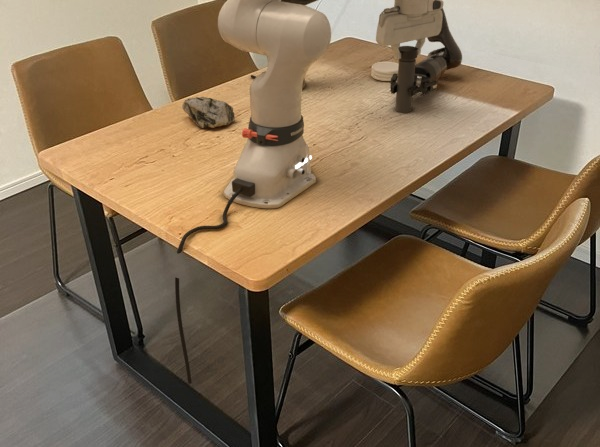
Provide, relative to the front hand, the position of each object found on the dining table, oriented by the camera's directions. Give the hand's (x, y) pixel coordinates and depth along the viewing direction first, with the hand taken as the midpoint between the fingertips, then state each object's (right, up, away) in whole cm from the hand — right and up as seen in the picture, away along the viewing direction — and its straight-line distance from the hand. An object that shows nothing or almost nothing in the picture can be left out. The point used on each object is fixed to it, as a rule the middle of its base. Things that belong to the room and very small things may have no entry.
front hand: (407, 56), depth 168 cm
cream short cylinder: (-1, +2, +32) cm, 32 cm away
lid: (0, +2, -1) cm, 2 cm away
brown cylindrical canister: (0, -13, +8) cm, 15 cm away
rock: (-54, -17, +4) cm, 57 cm away
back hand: (-1, -9, +3) cm, 9 cm away
